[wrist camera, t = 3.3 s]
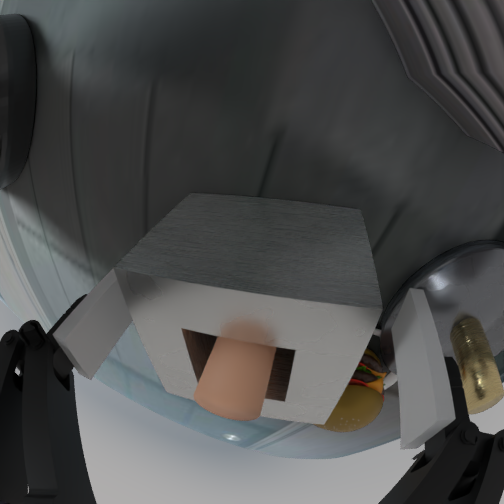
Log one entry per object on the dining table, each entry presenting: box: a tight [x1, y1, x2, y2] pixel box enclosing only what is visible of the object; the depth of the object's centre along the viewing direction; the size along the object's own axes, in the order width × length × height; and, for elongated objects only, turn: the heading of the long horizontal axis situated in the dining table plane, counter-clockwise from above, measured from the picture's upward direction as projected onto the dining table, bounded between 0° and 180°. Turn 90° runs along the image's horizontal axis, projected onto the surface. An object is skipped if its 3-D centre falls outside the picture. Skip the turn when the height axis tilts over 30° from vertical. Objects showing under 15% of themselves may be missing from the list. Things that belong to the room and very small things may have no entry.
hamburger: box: [314, 328, 398, 432], centre depth 15 cm, size 12×12×6 cm
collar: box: [113, 193, 383, 425], centre depth 11 cm, size 8×8×6 cm
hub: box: [380, 240, 504, 414], centre depth 10 cm, size 11×11×6 cm
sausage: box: [193, 336, 277, 421], centre depth 11 cm, size 2×2×8 cm
